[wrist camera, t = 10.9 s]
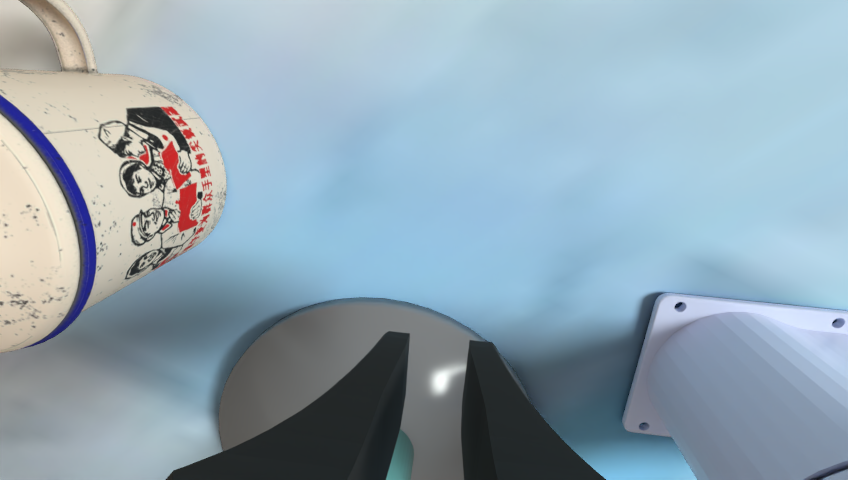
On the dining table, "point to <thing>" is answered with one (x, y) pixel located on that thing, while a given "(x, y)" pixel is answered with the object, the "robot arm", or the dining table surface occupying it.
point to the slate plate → (337, 355)
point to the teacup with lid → (92, 183)
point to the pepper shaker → (401, 459)
